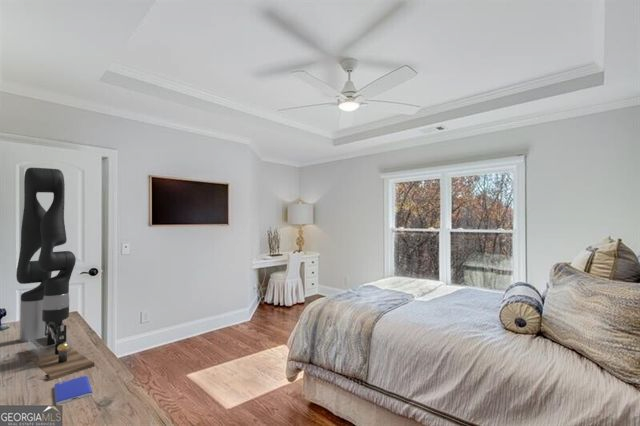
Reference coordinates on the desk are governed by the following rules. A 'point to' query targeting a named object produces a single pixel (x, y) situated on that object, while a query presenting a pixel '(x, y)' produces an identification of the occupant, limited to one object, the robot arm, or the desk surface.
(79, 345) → the desk surface
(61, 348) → the post
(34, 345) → the grey rectangular frame
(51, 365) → the brown wooden board
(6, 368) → the desk surface
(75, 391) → the hard drive
